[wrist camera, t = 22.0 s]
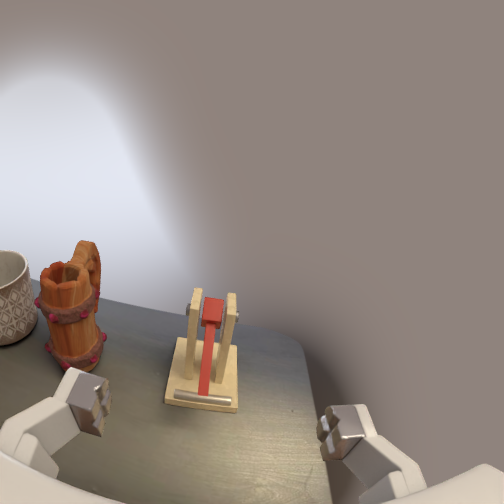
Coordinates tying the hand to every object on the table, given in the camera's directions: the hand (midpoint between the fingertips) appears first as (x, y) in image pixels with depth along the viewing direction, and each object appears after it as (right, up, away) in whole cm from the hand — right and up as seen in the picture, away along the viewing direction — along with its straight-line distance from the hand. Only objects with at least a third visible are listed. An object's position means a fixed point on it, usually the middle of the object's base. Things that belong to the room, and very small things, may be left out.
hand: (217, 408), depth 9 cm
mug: (-23, -9, +27) cm, 36 cm away
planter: (-39, -6, +24) cm, 46 cm away
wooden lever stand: (-5, -11, +28) cm, 31 cm away
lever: (-4, -6, +22) cm, 23 cm away
